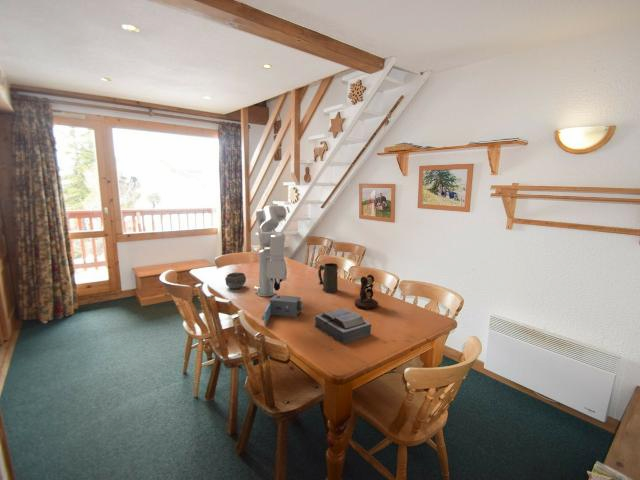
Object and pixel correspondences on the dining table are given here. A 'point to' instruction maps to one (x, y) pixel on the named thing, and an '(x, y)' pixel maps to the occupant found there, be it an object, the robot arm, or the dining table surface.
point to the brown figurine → (366, 293)
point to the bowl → (235, 280)
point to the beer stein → (329, 277)
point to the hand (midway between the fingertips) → (276, 289)
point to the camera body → (285, 305)
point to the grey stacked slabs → (343, 325)
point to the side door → (267, 313)
